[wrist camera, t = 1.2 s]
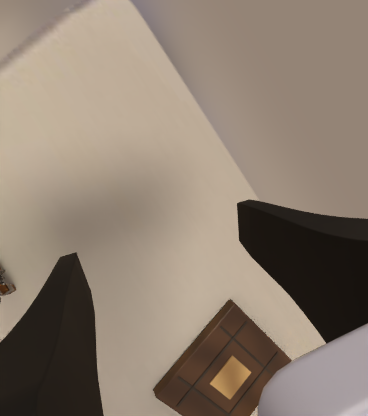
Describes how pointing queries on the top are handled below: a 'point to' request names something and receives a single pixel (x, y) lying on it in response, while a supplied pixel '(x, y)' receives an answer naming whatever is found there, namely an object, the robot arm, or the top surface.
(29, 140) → the top surface
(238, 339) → the board
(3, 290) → the wooden post with brackets
